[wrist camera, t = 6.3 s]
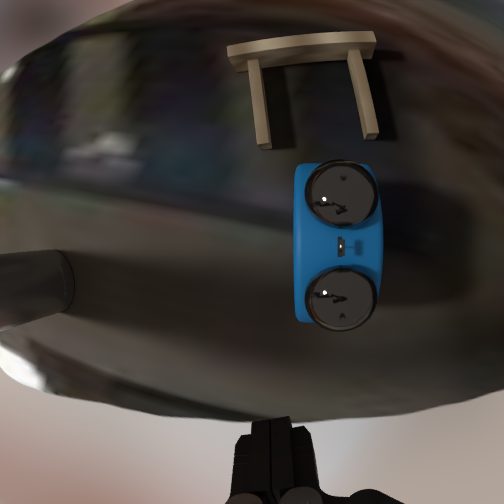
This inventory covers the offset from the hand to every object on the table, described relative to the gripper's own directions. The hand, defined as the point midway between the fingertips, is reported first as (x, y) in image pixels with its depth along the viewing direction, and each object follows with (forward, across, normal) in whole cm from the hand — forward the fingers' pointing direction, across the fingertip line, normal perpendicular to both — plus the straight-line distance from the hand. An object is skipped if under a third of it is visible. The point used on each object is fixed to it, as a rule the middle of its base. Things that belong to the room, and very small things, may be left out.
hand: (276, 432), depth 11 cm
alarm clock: (+23, +7, +1) cm, 24 cm away
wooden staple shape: (+26, +9, +17) cm, 32 cm away
